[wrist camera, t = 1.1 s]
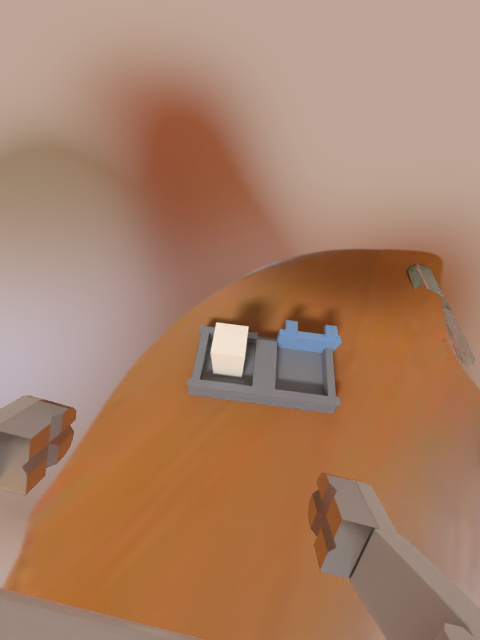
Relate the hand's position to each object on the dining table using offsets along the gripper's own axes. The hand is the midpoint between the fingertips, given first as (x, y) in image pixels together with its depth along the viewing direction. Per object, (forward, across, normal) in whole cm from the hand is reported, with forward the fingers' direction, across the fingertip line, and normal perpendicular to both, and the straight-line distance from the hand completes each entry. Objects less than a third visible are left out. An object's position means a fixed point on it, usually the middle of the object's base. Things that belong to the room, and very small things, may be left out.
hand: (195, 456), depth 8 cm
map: (+39, -34, -7) cm, 52 cm away
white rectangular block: (+28, -1, +8) cm, 29 cm away
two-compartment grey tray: (+28, -6, +8) cm, 30 cm away
